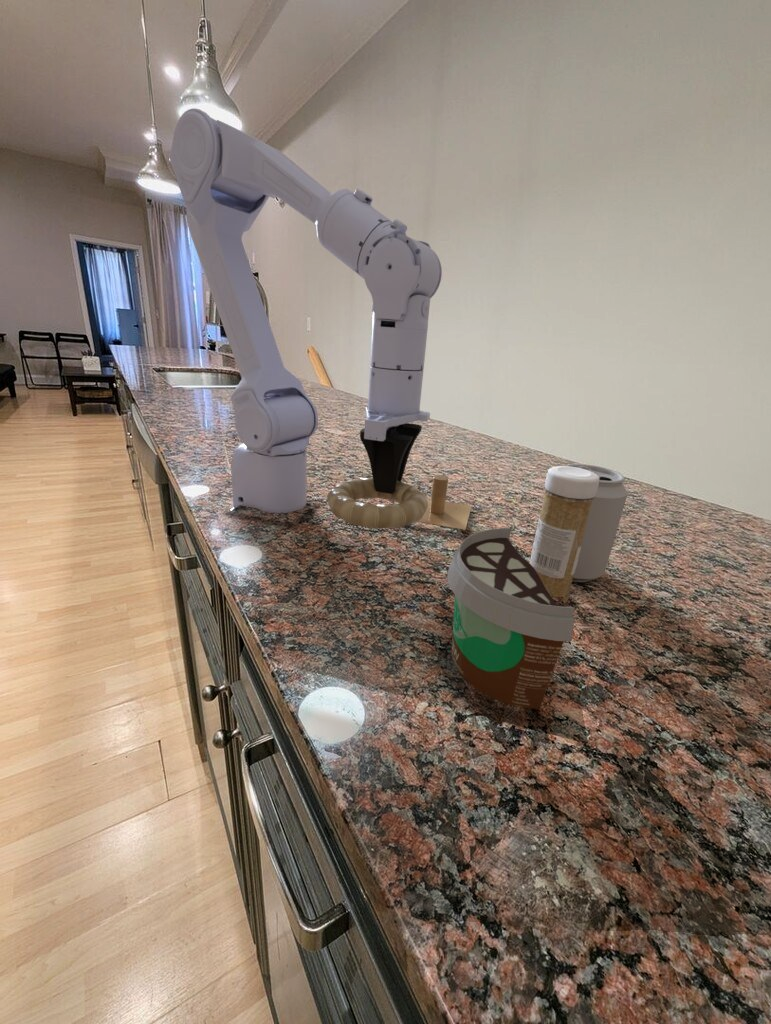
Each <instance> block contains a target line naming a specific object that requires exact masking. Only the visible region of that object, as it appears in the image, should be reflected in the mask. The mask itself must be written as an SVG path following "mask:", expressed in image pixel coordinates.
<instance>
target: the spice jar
mask: <svg viewBox="0 0 771 1024" xmlns="http://www.w3.org/2000/svg"><path fill="white" fill-rule="evenodd" d="M598 485H599V476H598V475H597V474H595V473H593V472H591V471H588V470H585V469H581V468H576V467H569V466H565V465H556V466H553V467H552V466H551V467H550V468H549V469H548V470H547V472H546V478H545V482H544V496H543V501H542V506H541V510H540V514H539V517H538V521H537V525H536V531H535V535H534V539H533V544H532V549H531V554H530V557H529V558H530V559H529V563H530V564H531V565H532V566H533V567H534V569H535V570H536V572H537V574H538V575H539V577H540V579H541V581H542V583H543V584H544V586H545V588H546V590H547V591H548V593H549V594H550V596H551V597H552V598H561V597H562V601H563V604H564V605H565V604H566V603H567V602H568V600H569V599H570V590H571V586H572V584H573V583H572V582H573V581H572V578H573V575H574V573H575V570H576V566H577V562H578V559H579V554H580V550H581V543H582V539H583V535H584V531H585V527H586V524H587V520H588V516H589V511H590V506H591V502H592V501H593V499H594V497H595V496H596V493H597V489H598Z"/></svg>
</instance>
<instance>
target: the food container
mask: <svg viewBox="0 0 771 1024" xmlns="http://www.w3.org/2000/svg"><path fill="white" fill-rule="evenodd" d="M511 530H512V529H511V528H510V527H500V528H499V527H498V528H491V529H483V530H480V531H476V532H474V533H471V534H470V535H468V536H467V537H466V538H464V539H463V540H462V541H461V543H460V545H459V546H458V547H457V549H456V550H455V552H454V555H453V557H452V560H451V562H450V565H449V567H448V569H447V577H446V578H447V583H448V586H449V588H450V589H451V591H452V593H453V594H454V602H453V603H454V604H453V618H452V637H451V651H450V652H451V653H450V654H451V659H452V663H453V664H454V667H455V669H456V670H457V672H458V673H459V675H460V676H461V677H462V678H463V679H464V681H465V682H467V683H468V684H469V685H470V686H472V688H474V689H475V690H477V691H478V692H480V693H482V694H483V695H485V696H487V697H489V698H490V699H492V700H496V701H497V702H500V703H503V704H505V705H510V706H513V707H518V708H525V709H539V710H540V709H541V706H542V704H543V701H544V698H545V695H546V693H547V690H548V686H549V684H550V682H551V678H552V675H553V673H554V670H555V667H556V664H557V662H558V659H559V656H560V653H561V650H562V648H563V645H564V642H572V640H573V632H574V626H575V625H574V624H575V619H574V615H575V610H576V608H575V606H559V605H558V604H557V603H556V601H555V600H554V598H553V597H551V596H550V594H549V593H548V591H547V590H546V588H545V586H544V584H543V583H542V581H541V579H540V577H539V575H538V574H537V572H536V570H535V569H534V567H533V566H532V565H531V564H530V561H528V560H526V559H525V558H524V557H523V555H521V554H520V553H519V552H518V551H517V549H516V548H515V546H514V545H513V544H512V542H511V541H510V537H511Z"/></svg>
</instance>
